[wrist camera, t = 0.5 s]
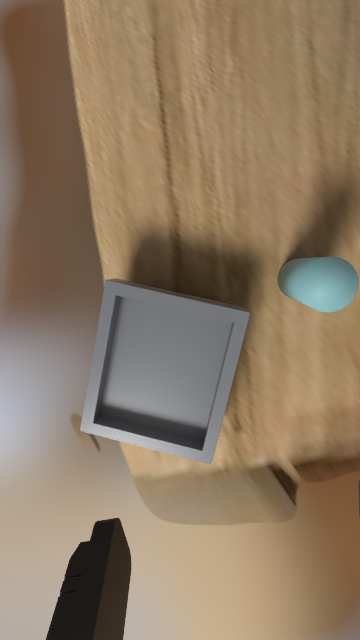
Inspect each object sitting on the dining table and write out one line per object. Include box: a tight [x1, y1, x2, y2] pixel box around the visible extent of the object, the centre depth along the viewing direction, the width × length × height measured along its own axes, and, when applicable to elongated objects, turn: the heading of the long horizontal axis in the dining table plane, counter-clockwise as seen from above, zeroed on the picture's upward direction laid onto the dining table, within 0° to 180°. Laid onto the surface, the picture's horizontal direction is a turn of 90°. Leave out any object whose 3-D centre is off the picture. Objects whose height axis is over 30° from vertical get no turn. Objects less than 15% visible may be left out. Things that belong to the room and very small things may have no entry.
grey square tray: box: [80, 278, 250, 464], centre depth 36 cm, size 16×14×6 cm
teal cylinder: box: [278, 257, 359, 312], centre depth 32 cm, size 4×4×10 cm
